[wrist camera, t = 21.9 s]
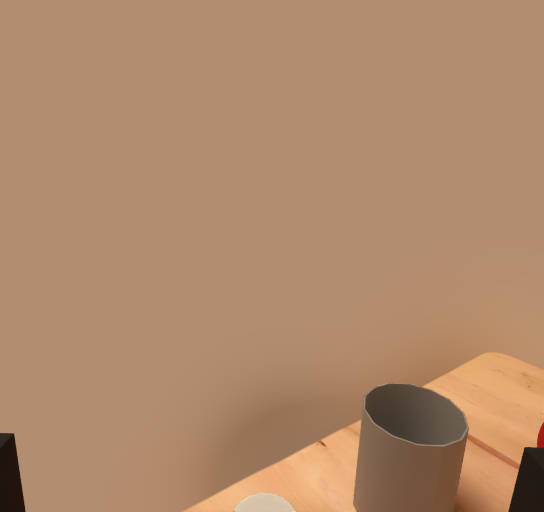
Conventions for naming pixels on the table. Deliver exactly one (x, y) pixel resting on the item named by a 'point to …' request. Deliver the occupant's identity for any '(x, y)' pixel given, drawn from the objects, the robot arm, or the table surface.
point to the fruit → (541, 437)
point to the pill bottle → (264, 504)
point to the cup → (409, 450)
